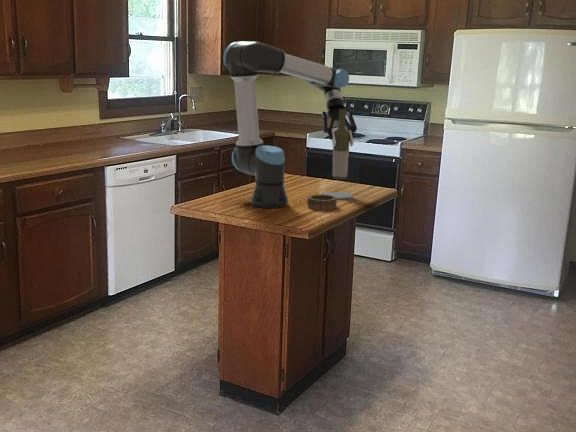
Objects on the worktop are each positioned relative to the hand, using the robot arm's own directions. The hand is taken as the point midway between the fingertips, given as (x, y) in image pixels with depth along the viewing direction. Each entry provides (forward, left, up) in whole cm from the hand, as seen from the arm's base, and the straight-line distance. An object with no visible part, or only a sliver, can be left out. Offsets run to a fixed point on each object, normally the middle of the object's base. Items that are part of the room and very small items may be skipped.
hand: (343, 144), depth 272 cm
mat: (-1, +3, -23) cm, 24 cm away
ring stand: (-11, -17, -23) cm, 31 cm away
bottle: (0, +3, -16) cm, 16 cm away
